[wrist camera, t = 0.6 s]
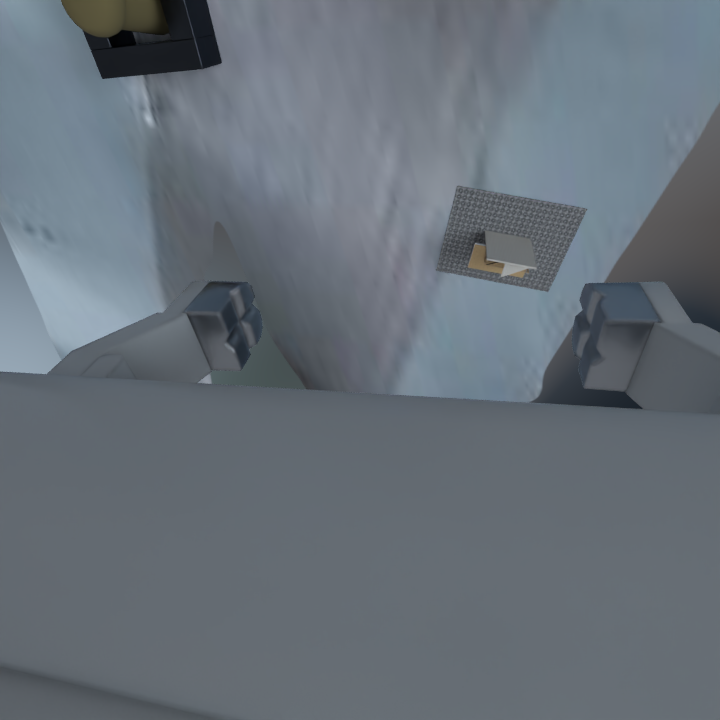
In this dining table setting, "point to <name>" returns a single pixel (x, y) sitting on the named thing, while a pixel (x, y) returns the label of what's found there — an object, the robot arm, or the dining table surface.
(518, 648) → the robot arm
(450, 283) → the dining table surface
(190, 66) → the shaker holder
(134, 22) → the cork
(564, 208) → the architectural model
